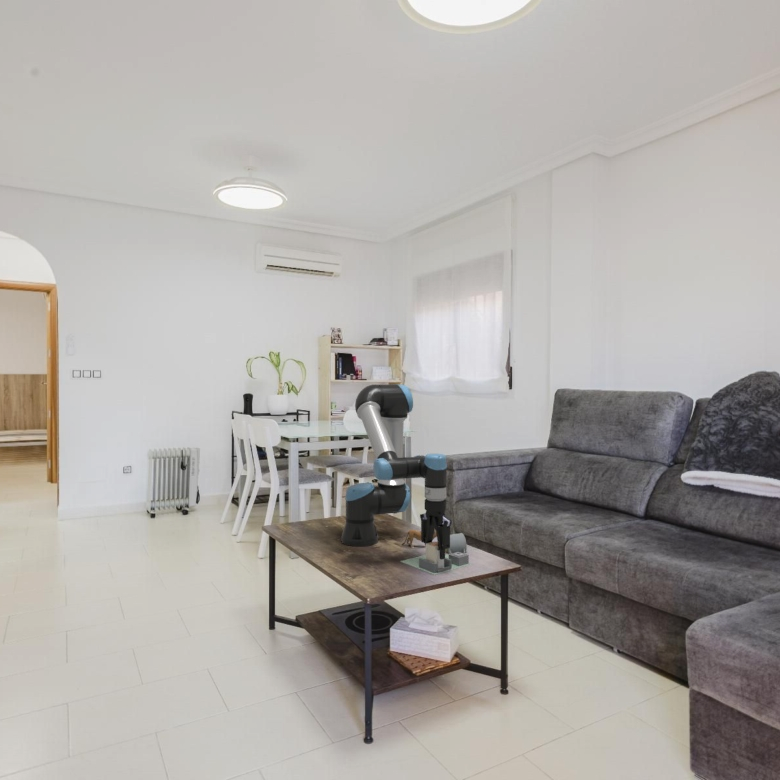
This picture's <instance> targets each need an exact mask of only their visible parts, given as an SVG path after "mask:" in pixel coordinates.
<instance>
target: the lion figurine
mask: <svg viewBox="0 0 780 780" xmlns="http://www.w3.org/2000/svg"><path fill="white" fill-rule="evenodd" d="M435 538H437V534H436V530H435V529H434V534H433V540H434V539H435ZM414 539H416V540H417V541H419V542H420V541H421V530H416V529H409V530H408V531H407V533H406V536H405V538H404V541H403V543H401V546H404V545H405V544H406V545H407V546H410V548H411V547H414V548H415V546H414V545H413V541H414ZM433 540H432V542H434V541H433ZM424 545H425V544H424ZM425 547H426V545H425Z"/></svg>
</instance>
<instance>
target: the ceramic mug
mask: <svg viewBox="0 0 780 780" xmlns="http://www.w3.org/2000/svg"><path fill="white" fill-rule="evenodd" d="M467 546H468V545H467V540H466V537H465V534H464V533H462V532H459V533H452V534H450V548H448V549H445V554H448V555H449V554H452V553H455V552H461V553H464V554H466V552H467V549H468V547H467Z"/></svg>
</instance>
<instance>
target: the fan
mask: <svg viewBox="0 0 780 780" xmlns="http://www.w3.org/2000/svg"><path fill="white" fill-rule="evenodd" d="M448 556H449V559H451V560H452V564H454V565H456V566H462V565H465V564H468V563H470V559H469V554H466V553H465V554H464V553H461V552H455V553H452V554H449V553H448Z"/></svg>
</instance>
